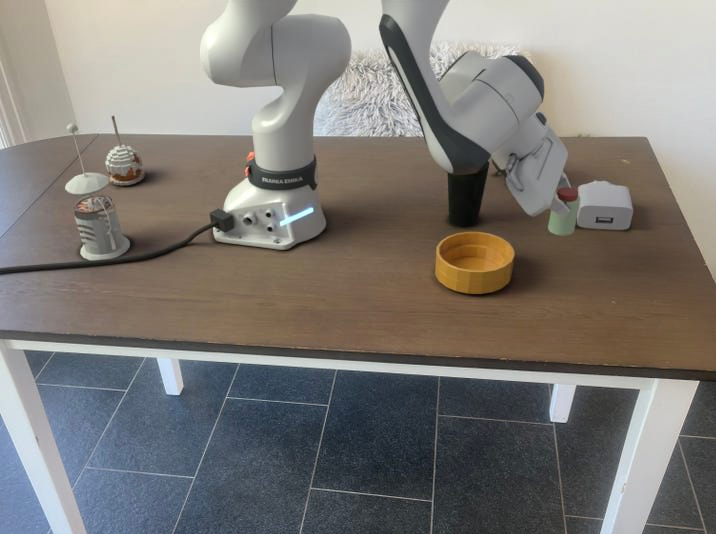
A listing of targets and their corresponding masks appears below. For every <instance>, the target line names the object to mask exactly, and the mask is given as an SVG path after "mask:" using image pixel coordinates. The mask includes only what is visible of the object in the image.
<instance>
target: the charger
mask: <svg viewBox="0 0 716 534" xmlns="http://www.w3.org/2000/svg"><path fill="white" fill-rule="evenodd" d="M577 191H578V195H579V196H580V198H581V199H580V204H579V209H578V213H577V218H576V223H577V226H578V227H580V228H583V229H593V230H595V229H596V230H611V231H612V230H613V231H625V230H628V229H629V228H631V227H630V226H631V222H632V219H633V214H634V207H633V203H632V199H631V193H630V189H629V187H627V186H624V185H617V184H613V183H611V182H610V181H606V180H597V179H594V181H592V182H589V183H584V184H581V185H579V186H578V187H577Z"/></svg>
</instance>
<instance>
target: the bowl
mask: <svg viewBox="0 0 716 534" xmlns="http://www.w3.org/2000/svg"><path fill="white" fill-rule="evenodd" d="M435 249H436V251H435V264H434V265H435V266H434V272H435V273H434V275H435V278H436V279H437V280H438V282H439V283H441V284H442V285H443V286H444V287H446V288H447V289H450V290H453V291H455V292H457V293H464V294H472V295H477V294H478V295H481V294H489V293H494V292H496V291H500V290H501V289H503V288H505V287H506V286H507V285H508V284H509V283H510V281H511V279H512V276H513V269H514V262H515V255H516V254H515V248H514V247H513V245H511V243H510V242H509V241H507V240H506V239H504V238H503V237H501V236H498V235H496V234H492V233H488V232H483V231H463V232H457V233H454V234H451V235H447V236H446V237H445V238H443V239H442V240H440V241H439V243H438V244H437V246H436V248H435Z"/></svg>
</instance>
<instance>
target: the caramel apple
mask: <svg viewBox="0 0 716 534" xmlns="http://www.w3.org/2000/svg"><path fill="white" fill-rule="evenodd" d="M110 116H111V121H112V126H113V129H114V133H115V137H116V142H117V146H114V147H113V149H110V150H109V152H108V153H107V155H106V160H105V161H104V163H105V166H106V170H107V173H108V175H110V176H109V177H108V178H109V182H110V183H111V184H114V185H117V186H130V185H134V184H135V185H136V184H137V183H139V182H141V181H142V180H143V179H144V177H145V176H146V173H145V172H144V170H143V167H142V166H144V165H143V160H142V157H141V155H140V154H138V151H137V150H134V148H133V147H131V146H130V145H128V146H126V145H125V144H122V142H121V139H120V135H119V131H118V126H117V122H116V117H115V114H112V115H110Z"/></svg>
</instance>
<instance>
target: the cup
mask: <svg viewBox="0 0 716 534" xmlns="http://www.w3.org/2000/svg"><path fill="white" fill-rule="evenodd" d="M489 169H490V161H489V160H488V161H487V162H486V163H485V164H484V165H483V166H482V168H481V169H480V170H479V171H478V172H477V173H473V174H467V175H451V174H449V173H447V198H448V199H447V201H448V202H447V203H448V204H447V205H448V222H449V224H451V225H452V226H454V227H458V228H471V227H473V226H476V225H477V224H478V222H479V218H480V213H481V207H482V203H483V197H484V192H485V188H486V183H487V179H488V173H489Z"/></svg>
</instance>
